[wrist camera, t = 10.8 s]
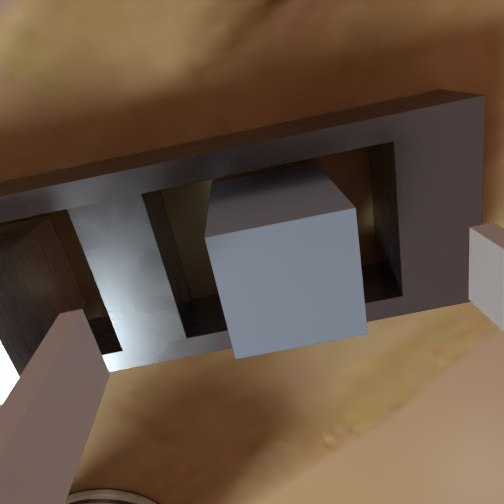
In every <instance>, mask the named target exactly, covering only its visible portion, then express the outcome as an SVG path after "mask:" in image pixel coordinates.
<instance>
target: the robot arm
mask: <svg viewBox="0 0 504 504" xmlns="http://www.w3.org/2000/svg"><path fill="white" fill-rule="evenodd" d="M469 300H470V301H471V302H472V303H473V304H474V305H475V306H476V307H477V308H478V309H480V310H481V311H482V312H483V313H484V314H485V315H486V316H487V317H488V318H489V319H490V320H491V321H493V322H494V323H495V324H496V325H497V326H498V327H499V328H500V329H501V330H502V331H503V332H504V229H503V228H502V227H500V226H498V225H496V224H495V223H488V224H483V225H478V226H474V227H470V233H469ZM109 375H110V374H109V371H108V369H107V366H106V364H105V362H104V359H103V357H102V354H101V352H100V350H99V347H98V345H97V343H96V340H95V338H94V335H93V333H92V331H91V328H90V326H89V323H88V321H87V319H86V316H85V314H84V312H83V309H79V310H75V311H70V312H65V313H60V314H59V315H58V317H57V319H56V320H55V322H54V323H53V325H52V326H51V328H50V330H49V331H48V333H47V334H46V336H45V338H44V339H43V341H42V342H41V344H40V345H39V347H38V349H37V350H36V352H35V353H34V355H33V356H32V358H31V360H30V361H29V363H28V364H27V366H26V368H25V369H24V371H23V372H22V374H21V375H20V377H19V379H18V380H17V382H16V383H15V385H14V386H13V388H12V390H11V391H10V393H9V394H8V396H7V397H6V399H5V401H4V402H3V404H2V405H1V407H0V504H65V502H66V500H67V497H68V494H69V491H70V488H71V485H72V482H73V479H74V476H75V474H76V471H77V468H78V465H79V462H80V459H81V456H82V453H83V450H84V448H85V445H86V442H87V439H88V436H89V433H90V430H91V427H92V424H93V422H94V419H95V416H96V413H97V410H98V407H99V404H100V401H101V398H102V396H103V393H104V390H105V387H106V384H107V381H108V378H109Z"/></svg>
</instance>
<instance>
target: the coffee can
mask: <svg viewBox="0 0 504 504" xmlns="http://www.w3.org/2000/svg"><path fill="white" fill-rule="evenodd" d="M65 504H157V503H155V502H154V501H152V500H150V499H148V498H146V497H143V496H141V495H138V494H134V493H129V492H124V491H119V490H110V489H99V490H88V491H82V492H76V493H73V494H71V495H68V497H67V500H66V502H65Z"/></svg>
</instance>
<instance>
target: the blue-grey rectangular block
mask: <svg viewBox="0 0 504 504" xmlns="http://www.w3.org/2000/svg"><path fill="white" fill-rule="evenodd" d="M205 242H206V246H207V250H208V254H209V257H210V261H211V265H212V269H213V273H214V277H215V281H216V285H217V289H218V293H219V297H220V300H221V304H222V308H223V312H224V316H225V320H226V324H227V328H228V332H229V336H230V339H231V343H232V347H233V351H234V355H235V359H240V358H245V357H250V356H255V355H261V354H266V353H271V352H277V351H282V350H287V349H292V348H298V347H303V346H308V345H313V344H319V343H324V342H329V341H334V340H340V339H345V338H350V337H355V336H361V335H366V334H368V332H367V321H366V311H365V300H364V290H363V279H362V269H361V258H360V247H359V237H358V226H357V216H356V208H355V206H354V205H353V204H352V203H351V202H350V201H349V200H348V199H347V198H346V196H345V195H344V194H343V193H342V192H341V191H340V190H339V189H338V187H337V186H336V185H335V184H334V183H333V182H332V181H331V180H330V178H329V177H328V176H327V175H326V174H325V173H324V172H323V171H322V169H321V168H320V167H319V166H318V165H317V164H316V163H315V162H314V163H309V164H304V165H299V166H294V167H289V168H284V169H279V170H274V171H269V172H264V173H259V174H254V175H249V176H244V177H239V178H234V179H229V180H224V181H219V182H215V183H211V191H210V199H209V206H208V214H207V222H206V230H205Z"/></svg>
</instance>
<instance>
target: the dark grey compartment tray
mask: <svg viewBox="0 0 504 504" xmlns="http://www.w3.org/2000/svg"><path fill="white" fill-rule="evenodd" d="M484 129H485V95H480V94H472V93H465V92H457V91H449V90H438V91H434V92H429V93H424V94H419V95H414V96H410V97H405V98H400V99H395V100H391V101H386V102H381V103H376V104H372V105H367V106H362V107H357V108H353V109H348V110H343V111H338V112H334V113H329V114H324V115H319V116H315V117H310V118H305V119H300V120H295V121H291V122H286V123H281V124H276V125H272V126H267V127H262V128H257V129H253V130H248V131H243V132H238V133H234V134H229V135H224V136H219V137H215V138H210V139H205V140H200V141H196V142H191V143H186V144H181V145H176V146H172V147H167V148H162V149H157V150H153V151H148V152H143V153H138V154H134V155H129V156H124V157H119V158H115V159H110V160H105V161H100V162H96V163H91V164H86V165H81V166H76V167H72V168H67V169H62V170H57V171H53V172H48V173H43V174H38V175H34V176H29V177H24V178H19V179H15V180H10V181H5V182H0V223H2V222H6V221H11V220H16V219H21V218H26V217H31V216H35V215H40V214H45V213H50V212H55V211H60V210H64V209H67V210H68V213H69V215H70V218H71V221H72V223H73V226H74V228H75V231H76V233H77V236H78V238H79V241H80V243H81V246H82V248H83V251H84V253H85V256H86V259H87V261H88V264H89V266H90V269H91V271H92V274H93V276H94V279H95V281H96V284H97V286H98V289H99V291H100V294H101V297H102V299H103V302H104V304H105V307H106V309H107V312H108V314H109V316H108V317H103V318H98V319H93V320H88V323H89V326H90V328H91V331H92V333H93V335H94V338H95V340H96V343H97V345H98V347H99V350H100V352H101V354H102V357H103V359H104V362H105V364H106V366H107V369H108V371H109V372H112V371H117V370H122V369H127V368H132V367H137V366H143V365H148V364H153V363H158V362H163V361H168V360H173V359H179V358H184V357H189V356H194V355H199V354H204V353H209V352H214V351H220V350H225V349H230V348H233V347H232V343H231V339H230V336H229V332H228V328H227V324H226V320H225V316H224V312H223V308H222V304H221V300H220V297H219V295H214V296H209V297H204V298H199V299H194V300H192V297H191V294H190V291H189V287H188V284H187V280H186V277H185V274H184V270H183V267H182V263H181V260H180V257H179V253H178V250H177V246H176V243H175V240H174V236H173V233H172V229H171V226H170V223H169V219H168V216H167V212H166V209H165V206H164V202H163V199H162V195H161V192H160V190H161V189H166V188H171V187H175V186H180V185H185V184H190V183H195V182H200V181H204V180H209V179H214V178H219V177H224V176H229V175H233V174H238V173H243V172H248V171H253V170H258V169H262V168H267V167H272V166H277V165H282V164H286V163H291V162H296V161H301V160H306V159H311V158H315V157H320V156H325V155H330V154H335V153H340V152H344V151H349V150H354V149H359V148H364V147H368V149H369V162H370V174H371V186H372V198H373V211H374V223H375V235H376V247H377V259H378V263H375V264H370V265H365V266H361V269H362V279H363V290H364V300H365V311H366V321H367V322H369V321H374V320H379V319H384V318H389V317H394V316H399V315H405V314H410V313H415V312H420V311H425V310H430V309H435V308H440V307H446V306H451V305H456V304H461V303H466V302H471V301H470V300H469V233H470V227H474V226H478V225H482V197H483V163H484Z"/></svg>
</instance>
